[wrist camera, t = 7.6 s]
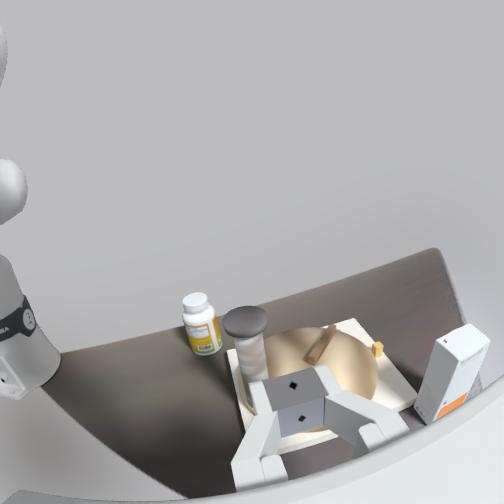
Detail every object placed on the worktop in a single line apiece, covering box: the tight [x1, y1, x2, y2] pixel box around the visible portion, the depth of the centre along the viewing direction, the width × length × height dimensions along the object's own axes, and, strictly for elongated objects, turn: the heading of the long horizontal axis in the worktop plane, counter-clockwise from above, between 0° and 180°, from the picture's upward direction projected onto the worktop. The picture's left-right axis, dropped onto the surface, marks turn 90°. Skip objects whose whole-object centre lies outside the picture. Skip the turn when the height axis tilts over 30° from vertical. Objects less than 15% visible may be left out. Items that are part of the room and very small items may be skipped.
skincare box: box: [413, 323, 491, 425], centre depth 28 cm, size 6×4×12 cm
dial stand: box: [227, 318, 418, 455], centre depth 39 cm, size 22×20×4 cm
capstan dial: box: [223, 306, 378, 433], centre depth 37 cm, size 19×19×14 cm
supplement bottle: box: [182, 293, 222, 355], centre depth 49 cm, size 5×5×10 cm
